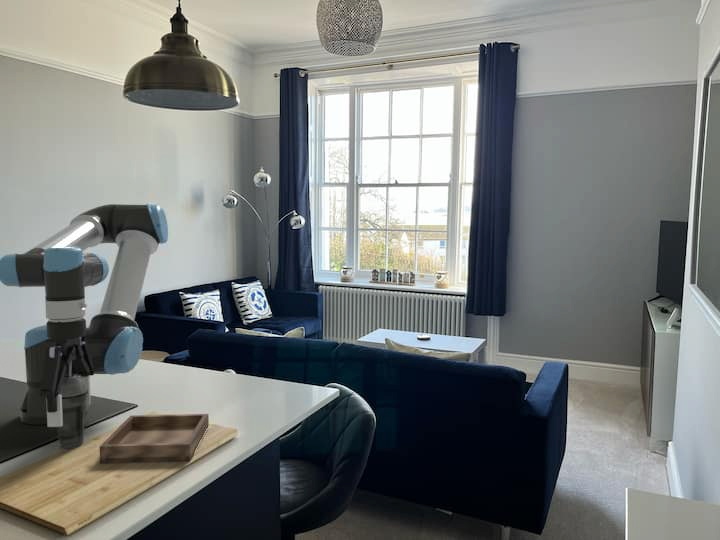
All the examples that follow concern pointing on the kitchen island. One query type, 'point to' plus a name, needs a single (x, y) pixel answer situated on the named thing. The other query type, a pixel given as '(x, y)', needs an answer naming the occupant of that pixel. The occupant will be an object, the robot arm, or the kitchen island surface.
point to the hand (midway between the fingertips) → (70, 414)
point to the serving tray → (155, 438)
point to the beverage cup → (72, 411)
